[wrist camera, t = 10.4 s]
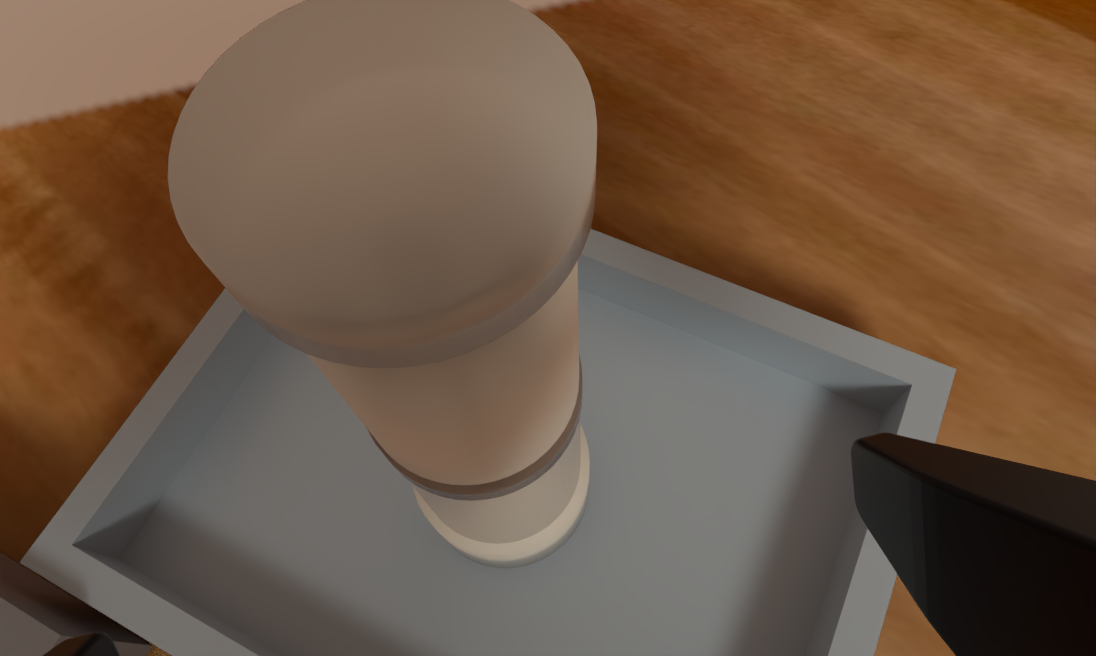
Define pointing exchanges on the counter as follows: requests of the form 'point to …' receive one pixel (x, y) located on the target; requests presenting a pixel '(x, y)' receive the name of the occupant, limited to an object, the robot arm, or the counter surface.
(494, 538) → the beige banded cylinder
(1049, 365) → the counter surface
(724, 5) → the counter surface
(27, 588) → the holder
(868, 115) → the counter surface
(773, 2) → the counter surface
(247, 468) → the parts tray
